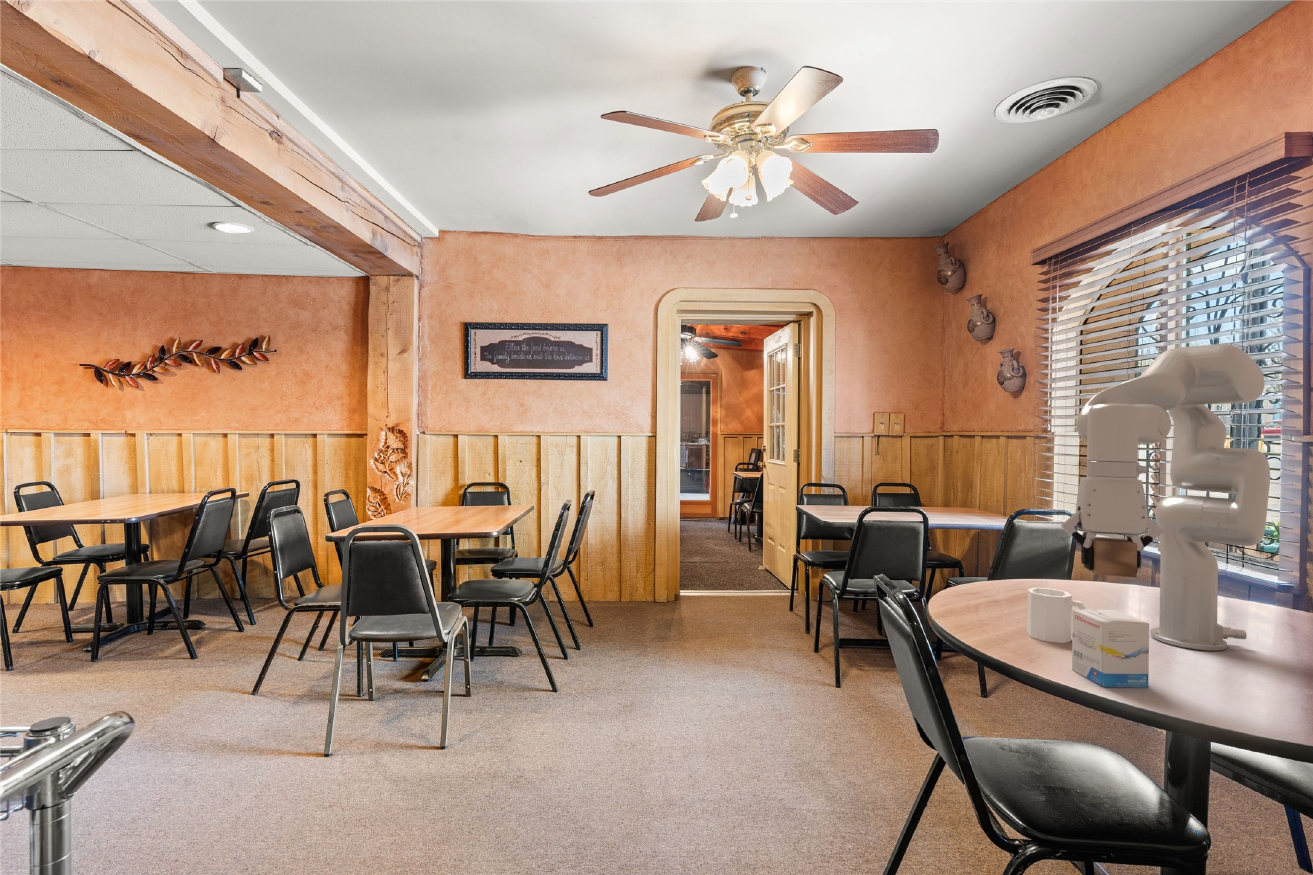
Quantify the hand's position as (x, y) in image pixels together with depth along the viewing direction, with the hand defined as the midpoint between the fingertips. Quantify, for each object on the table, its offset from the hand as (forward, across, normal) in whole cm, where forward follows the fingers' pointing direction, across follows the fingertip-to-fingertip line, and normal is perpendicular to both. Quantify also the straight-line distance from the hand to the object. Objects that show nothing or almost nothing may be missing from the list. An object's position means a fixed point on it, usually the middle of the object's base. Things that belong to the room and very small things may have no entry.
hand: (1110, 569), depth 114 cm
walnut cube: (+1, 0, 0) cm, 1 cm away
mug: (+20, +2, -23) cm, 31 cm away
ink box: (+20, 0, 0) cm, 20 cm away
